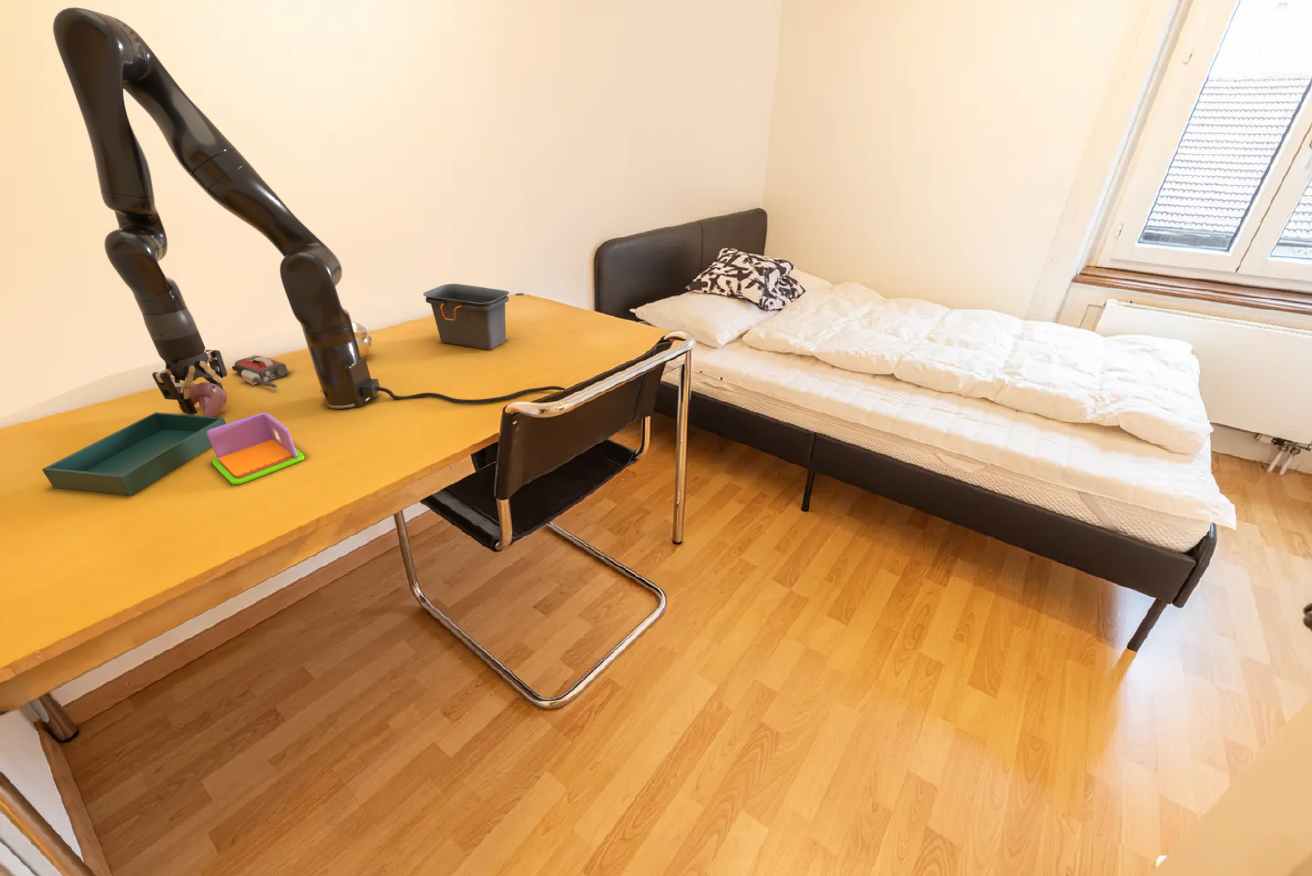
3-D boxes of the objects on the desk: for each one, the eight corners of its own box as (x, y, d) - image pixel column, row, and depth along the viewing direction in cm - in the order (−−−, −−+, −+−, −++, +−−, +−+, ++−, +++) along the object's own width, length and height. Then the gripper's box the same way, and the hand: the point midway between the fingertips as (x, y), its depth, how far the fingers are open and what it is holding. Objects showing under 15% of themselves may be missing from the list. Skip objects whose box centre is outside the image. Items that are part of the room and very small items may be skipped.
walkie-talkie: (224, 375, 137) (272, 393, 129) (217, 359, 135) (266, 376, 126) (261, 364, 144) (309, 380, 135) (255, 347, 141) (303, 363, 133)
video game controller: (229, 420, 120) (233, 387, 119) (205, 419, 116) (209, 386, 115) (200, 410, 123) (204, 379, 123) (176, 410, 119) (180, 377, 118)
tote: (231, 434, 112) (223, 417, 110) (131, 495, 94) (121, 477, 92) (163, 428, 114) (155, 412, 112) (53, 487, 96) (41, 469, 94)
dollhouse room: (281, 438, 111) (269, 407, 108) (307, 459, 105) (295, 427, 101) (210, 462, 103) (195, 430, 100) (233, 487, 97) (219, 453, 93)
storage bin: (519, 339, 162) (514, 289, 154) (489, 358, 149) (481, 305, 142) (457, 330, 167) (449, 282, 160) (423, 347, 155) (412, 296, 148)
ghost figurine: (358, 367, 142) (347, 329, 137) (328, 362, 145) (317, 325, 140) (383, 355, 150) (374, 319, 145) (355, 350, 152) (345, 314, 147)
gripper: (158, 345, 105) (193, 423, 113) (220, 321, 117) (248, 393, 125) (123, 343, 106) (160, 420, 114) (188, 319, 118) (217, 390, 126)
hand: (206, 406), depth 120 cm, fingers closed on video game controller, 6 cm apart
